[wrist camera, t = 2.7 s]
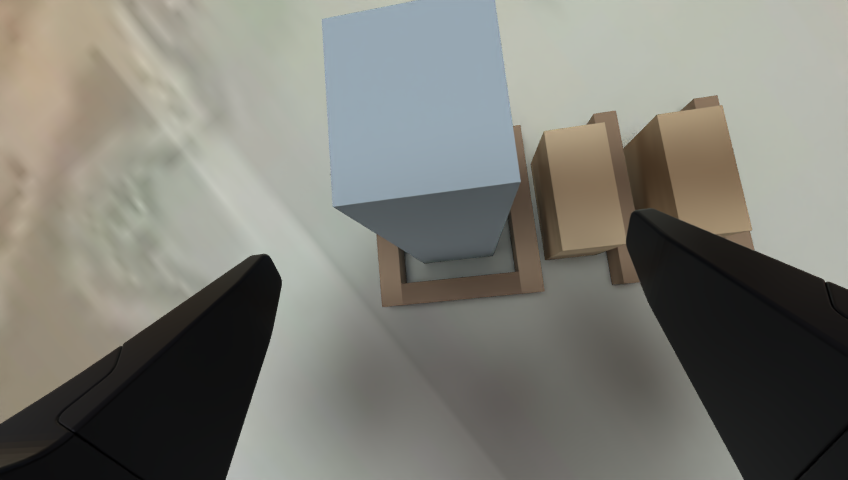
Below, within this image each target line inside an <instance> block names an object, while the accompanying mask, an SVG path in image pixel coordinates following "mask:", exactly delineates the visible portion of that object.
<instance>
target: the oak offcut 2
mask: <svg viewBox="0 0 848 480" xmlns="http://www.w3.org/2000/svg"><path fill="white" fill-rule="evenodd" d="M623 151H624V156H625V161H626V167H627V172H628V177H629V182H630V187H631V193H632V198H633V203H634V208H635V210H639V209H647V208H653V209H656V210H658V211H661V212H663V213H665V214H668V215H670V216H673V217H675V218H677V219H680V220H682V221H685V222H687V223H689V224H692V225H694V226H697V227H699V228H701V229H704V230H706V231H709V232H711V233H713V234H716V235H718V236H721V237H726V236H731V235H735V234H739V233H743V232H747V231H751V230H752V227H751V223H750V219H749V214H748V210H747V206H746V202H745V198H744V194H743V189H742V185H741V181H740V177H739V173H738V169H737V164H736V160H735V156H734V152H733V148H732V144H731V140H730V135H729V131H728V127H727V123H726V119H725V115H724V110H723V106H722V105H720V106H713V107H706V108H699V109H692V110H686V111H679V112H672V113H665V114H658V115H656V116H655V117H654V118H653V119H652V120H651V121H650V122H649V123H648V124H647V125H646V126H645V127H644V128H643V129H642V130H641V131H640V132H639V133H638V134H637V135H636V136H635V137H634V138H633V139H632V140H631V141H630V142H629V143H628V144H627V145H626V147H625V148H624V149H623Z"/></svg>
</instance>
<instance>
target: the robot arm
mask: <svg viewBox="0 0 848 480" xmlns="http://www.w3.org/2000/svg"><path fill="white" fill-rule="evenodd" d="M626 246H627V250H628V252H629V255H630V257H631V260H632V263H633V265H634V268H635V270H636V273H637V276H638V278H639V281H640V283H641V286H642V288H643V291H644V294H645V296H646V298H647V301H648V303H649V305H650V307H651V309H652V311H653V313H654V314H655V316H656V318H657V320H658V322H659V324H660V326H661V327H662V329H663V331H664V333H665V335H666V337H667V338H668V340H669V342H670V344H671V346H672V348H673V349H674V351H675V353H676V355H677V357H678V359H679V361H680V362H681V364H682V366H683V368H684V370H685V372H686V373H687V375H688V377H689V379H690V381H691V383H692V385H693V386H694V388H695V390H696V392H697V394H698V396H699V397H700V399H701V401H702V403H703V405H704V407H705V409H706V410H707V412H708V414H709V416H710V418H711V420H712V421H713V423H714V425H715V427H716V429H717V431H718V433H719V434H720V436H721V438H722V440H723V442H724V444H725V445H726V447H727V449H728V451H729V453H730V455H731V457H732V458H733V460H734V462H735V464H736V466H737V468H738V469H739V471H740V473H741V475H742V477H743V479H744V480H848V289H845V288H843V287H841V286H838V285H836V284H834V283H831V282H825V281H824V280H823V279H821V278H819V277H817V276H814V275H812V274H809V273H807V272H805V271H802V270H800V269H797V268H795V267H793V266H790V265H788V264H785V263H783V262H781V261H778V260H776V259H773V258H771V257H769V256H766V255H764V254H761V253H759V252H757V251H754V250H752V249H749V248H747V247H745V246H742V245H740V244H737V243H735V242H733V241H730V240H728V239H725V238H723V237H721V236H718V235H716V234H713V233H711V232H709V231H706V230H704V229H701V228H699V227H697V226H694V225H692V224H689V223H687V222H685V221H682V220H680V219H677V218H675V217H673V216H670V215H668V214H665V213H663V212H661V211H658V210H656V209H653V208H647V209H639V210H634V211H633V212H632V213H631V215H630V220H629V225H628V231H627V236H626ZM281 287H282V280H281V277H280V274H279V273H278V271H277V269H276V267H275V265H274V263H273V261H272V259H271V258H270V256H269V255H267V254H259V255H252V256H250V257H248V258H247V259H245V260H244V261H242V262H241V263H240V264H238V265H237V266H235V267H234V268H232V269H231V270H229V271H228V272H227V273H225V274H224V275H222V276H221V277H219V278H218V279H216V280H215V281H214V282H212V283H211V284H209V285H208V286H206V287H205V288H203V289H202V290H201V291H199V292H198V293H196V294H195V295H193V296H192V297H190V298H189V299H188V300H186V301H185V302H183V303H182V304H180V305H179V306H177V307H176V308H174V309H173V310H172V311H170V312H169V313H167V314H166V315H164V316H163V317H161V318H160V319H159V320H157V321H156V322H154V323H153V324H151V325H150V326H148V327H147V328H146V329H144V330H143V331H141V332H140V333H138V334H137V335H135V336H134V337H133V338H131V339H130V340H128V341H127V342H125V343H124V344H123V346H119V347H118V348H117V349H115V350H114V351H112V352H111V353H109V354H108V355H106V356H105V357H104V358H102V359H101V360H99V361H98V362H96V363H95V364H93V365H92V366H90V367H89V368H87V369H86V370H84V371H83V372H81V373H80V374H78V375H77V376H75V377H74V378H72V379H70V380H69V381H67V382H66V383H64V384H63V385H61V386H60V387H58V388H56V389H55V390H53V391H52V392H50V393H49V394H47V395H46V396H44V397H42V398H41V399H39V400H38V401H36V402H34V403H33V404H31V405H30V406H28V407H26V408H25V409H23V410H22V411H20V412H19V413H17V414H15V415H14V416H12V417H11V418H9V419H7V420H6V421H4V422H3V423H1V424H0V480H226V477H227V474H228V470H229V467H230V464H231V461H232V458H233V455H234V452H235V449H236V445H237V442H238V439H239V436H240V433H241V430H242V427H243V424H244V421H245V417H246V414H247V411H248V408H249V405H250V402H251V399H252V396H253V392H254V389H255V386H256V383H257V380H258V377H259V374H260V371H261V367H262V364H263V361H264V358H265V355H266V352H267V349H268V346H269V342H270V339H271V335H272V331H273V327H274V322H275V317H276V312H277V307H278V302H279V297H280V292H281Z"/></svg>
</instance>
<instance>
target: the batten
mask: <svg viewBox="0 0 848 480" xmlns="http://www.w3.org/2000/svg"><path fill="white" fill-rule="evenodd" d="M322 30H323V47H324V64H325V81H326V98H327V116H328V133H329V150H330V167H331V184H332V201H333V207H334V208H336V209H337V210H339V211H341V212H342V213H344V214H345V215H347V216H349V217H350V218H352V219H353V220H355V221H357V222H358V223H360V224H362V225H363V226H365V227H366V228H368V229H370V230H371V231H373V232H374V233H376V234H378V235H379V236H381V237H383V238H384V239H386V240H387V241H389V242H391V243H392V244H394V245H395V246H397V247H399V248H400V249H402V250H404V251H405V252H407V253H408V254H410V255H412V256H413V257H415V258H416V259H418V260H420V261H421V262H423V263H432V262H441V261H450V260H459V259H468V258H477V257H486V256H493V254H494V251H495V249H496V246H497V243H498V241H499V238H500V235H501V233H502V230H503V227H504V225H505V222H506V220H507V217H508V214H509V212H510V209H511V206H512V204H513V201H514V198H515V196H516V193H517V190H518V188H519V185H520V183H521V180H520V173H519V166H518V159H517V152H516V145H515V138H514V131H513V124H512V117H511V110H510V103H509V96H508V89H507V82H506V75H505V68H504V61H503V54H502V47H501V40H500V33H499V26H498V19H497V12H496V5H495V0H416V1H411V2H406V3H401V4H396V5H391V6H386V7H381V8H376V9H371V10H366V11H361V12H356V13H350V14H345V15H340V16H335V17H330V18H325V19H322Z"/></svg>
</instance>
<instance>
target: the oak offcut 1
mask: <svg viewBox="0 0 848 480" xmlns="http://www.w3.org/2000/svg"><path fill="white" fill-rule="evenodd" d="M531 169H532V176H533V182H534V189H535V196H536V203H537V209H538V216H539V223H540V230H541V236H542V243H543V250H544V256H545V260H551V259H561V258H570V257H580V256H589V255H596V254H599V253H602V252H605V251H608V250H611V249H613V248H616V247H619V246H622V245H625V244H626V235H625V229H624V224H623V218H622V213H621V208H620V202H619V197H618V191H617V186H616V181H615V175H614V170H613V164H612V159H611V154H610V148H609V143H608V137H607V132H606V127H605V122H603V123H596V124H589V125H582V126H576V127H569V128H562V129H555V130H549V131H544V132H543V135H542V137H541V140H540V142H539V145H538V147H537V150H536V152H535V155H534V157H533V160H532V162H531Z"/></svg>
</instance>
